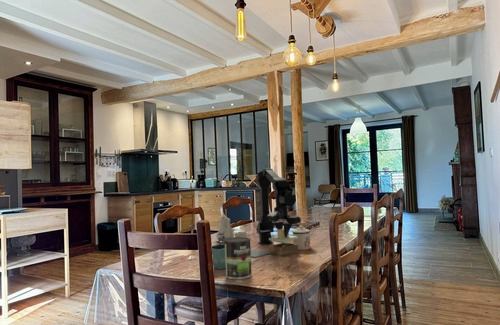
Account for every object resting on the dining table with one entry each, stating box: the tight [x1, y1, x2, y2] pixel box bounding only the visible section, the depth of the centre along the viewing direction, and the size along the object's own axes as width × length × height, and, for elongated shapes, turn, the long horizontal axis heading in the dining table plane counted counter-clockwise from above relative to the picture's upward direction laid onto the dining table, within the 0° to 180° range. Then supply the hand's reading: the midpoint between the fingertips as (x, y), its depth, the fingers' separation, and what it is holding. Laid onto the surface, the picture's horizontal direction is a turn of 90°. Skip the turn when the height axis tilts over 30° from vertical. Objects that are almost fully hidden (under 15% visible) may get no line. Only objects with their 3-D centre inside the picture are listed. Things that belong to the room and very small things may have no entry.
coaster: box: [251, 248, 271, 259], centre depth 166 cm, size 12×12×1 cm
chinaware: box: [216, 214, 249, 243], centre depth 206 cm, size 28×17×17 cm, turn 35°
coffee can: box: [223, 236, 253, 280], centre depth 131 cm, size 10×10×14 cm
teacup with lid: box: [291, 225, 311, 251], centre depth 175 cm, size 12×9×12 cm
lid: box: [269, 227, 298, 243], centre depth 164 cm, size 9×11×6 cm
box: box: [268, 242, 299, 258], centre depth 164 cm, size 9×11×4 cm
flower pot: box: [211, 243, 226, 270], centre depth 144 cm, size 9×9×9 cm
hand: (283, 236), depth 164 cm, fingers closed on lid, 3 cm apart
